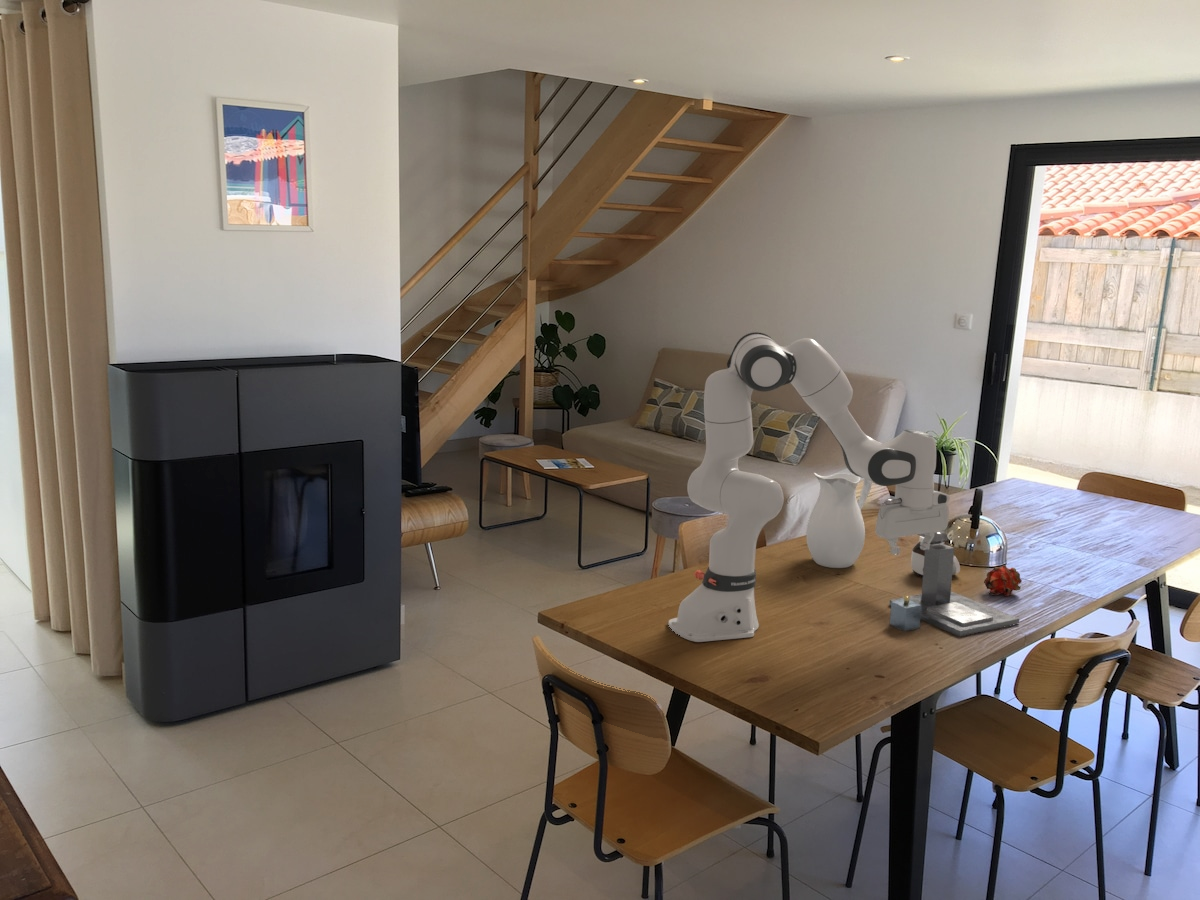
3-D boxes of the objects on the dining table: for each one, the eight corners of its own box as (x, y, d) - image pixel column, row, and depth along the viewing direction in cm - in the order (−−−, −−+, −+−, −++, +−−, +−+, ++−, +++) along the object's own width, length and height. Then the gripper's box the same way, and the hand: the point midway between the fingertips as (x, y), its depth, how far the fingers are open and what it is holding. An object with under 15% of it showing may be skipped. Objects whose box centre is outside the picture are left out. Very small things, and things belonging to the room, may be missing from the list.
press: (959, 637, 229) (965, 571, 225) (889, 605, 250) (893, 544, 247) (1018, 624, 237) (1024, 560, 234) (946, 594, 258) (950, 536, 255)
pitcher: (837, 575, 274) (842, 481, 269) (793, 560, 287) (797, 470, 282) (889, 560, 288) (895, 471, 283) (845, 547, 301) (850, 461, 296)
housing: (904, 631, 232) (906, 601, 231) (889, 624, 236) (891, 594, 235) (919, 628, 234) (922, 598, 233) (905, 621, 239) (907, 591, 237)
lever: (935, 546, 244) (936, 534, 244) (873, 524, 265) (874, 513, 264) (947, 544, 246) (948, 532, 245) (884, 522, 266) (885, 511, 266)
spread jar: (906, 574, 275) (909, 535, 273) (924, 566, 283) (927, 528, 281) (946, 584, 267) (949, 544, 265) (963, 575, 275) (967, 536, 273)
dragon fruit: (1020, 596, 262) (988, 609, 257) (999, 572, 267) (968, 584, 262) (1035, 579, 256) (1003, 591, 251) (1013, 554, 260) (982, 566, 255)
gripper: (890, 503, 222) (886, 560, 224) (954, 495, 231) (950, 550, 233) (871, 497, 227) (867, 553, 230) (935, 490, 236) (931, 543, 239)
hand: (910, 551), depth 232 cm, fingers open, 8 cm apart
